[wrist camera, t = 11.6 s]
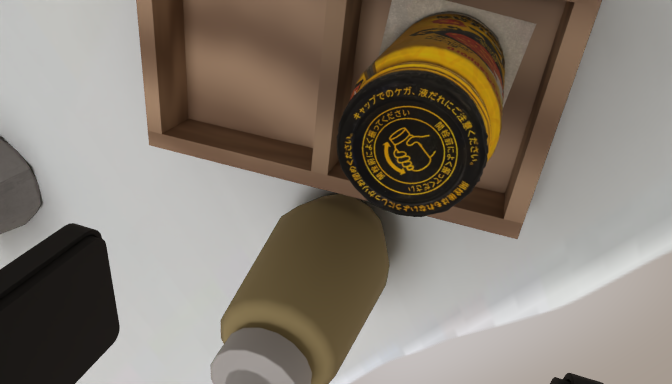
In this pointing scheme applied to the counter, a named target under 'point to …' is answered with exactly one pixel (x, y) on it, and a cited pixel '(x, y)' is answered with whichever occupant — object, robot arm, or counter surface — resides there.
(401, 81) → the condiment
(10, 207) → the coffeepot
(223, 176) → the counter surface
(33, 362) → the robot arm
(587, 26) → the caddy
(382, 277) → the squeeze bottle
